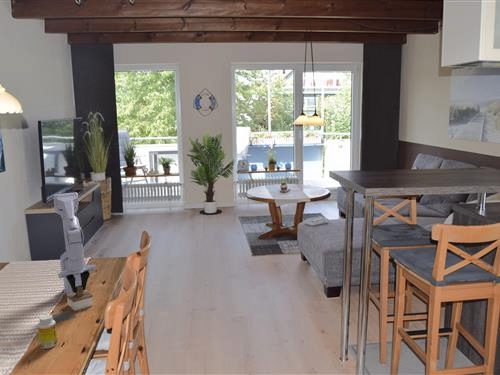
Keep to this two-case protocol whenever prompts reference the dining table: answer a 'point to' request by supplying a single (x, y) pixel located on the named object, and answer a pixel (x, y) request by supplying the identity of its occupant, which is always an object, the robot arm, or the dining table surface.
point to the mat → (63, 316)
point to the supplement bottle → (47, 332)
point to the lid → (79, 294)
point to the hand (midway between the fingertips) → (79, 290)
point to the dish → (80, 303)
